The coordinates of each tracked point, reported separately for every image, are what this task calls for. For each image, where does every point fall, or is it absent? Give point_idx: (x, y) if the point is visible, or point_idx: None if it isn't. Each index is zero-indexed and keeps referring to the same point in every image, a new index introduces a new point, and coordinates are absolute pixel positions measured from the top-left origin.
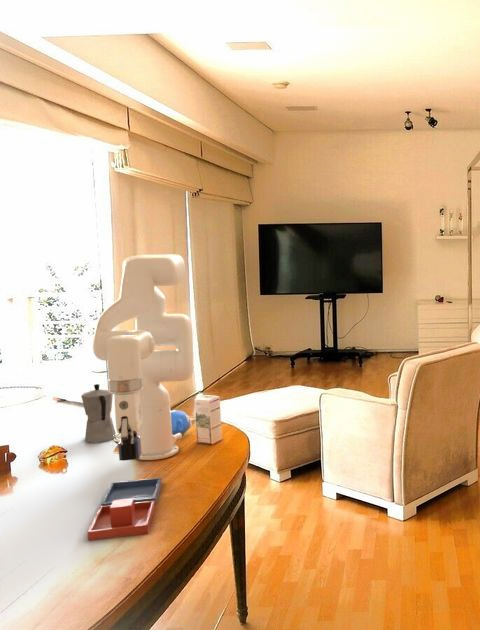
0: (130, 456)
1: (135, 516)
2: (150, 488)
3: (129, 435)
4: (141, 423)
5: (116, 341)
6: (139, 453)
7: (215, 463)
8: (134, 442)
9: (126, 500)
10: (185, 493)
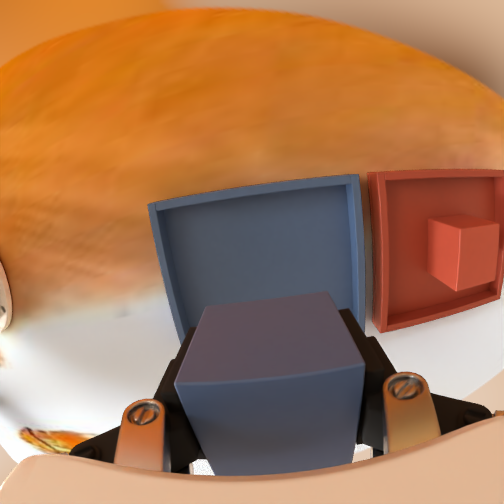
0: (373, 339)
1: (428, 217)
2: (202, 227)
3: (188, 453)
4: (143, 495)
5: None
6: (289, 306)
7: (27, 98)
8: (360, 382)
9: (469, 248)
10: (250, 95)
